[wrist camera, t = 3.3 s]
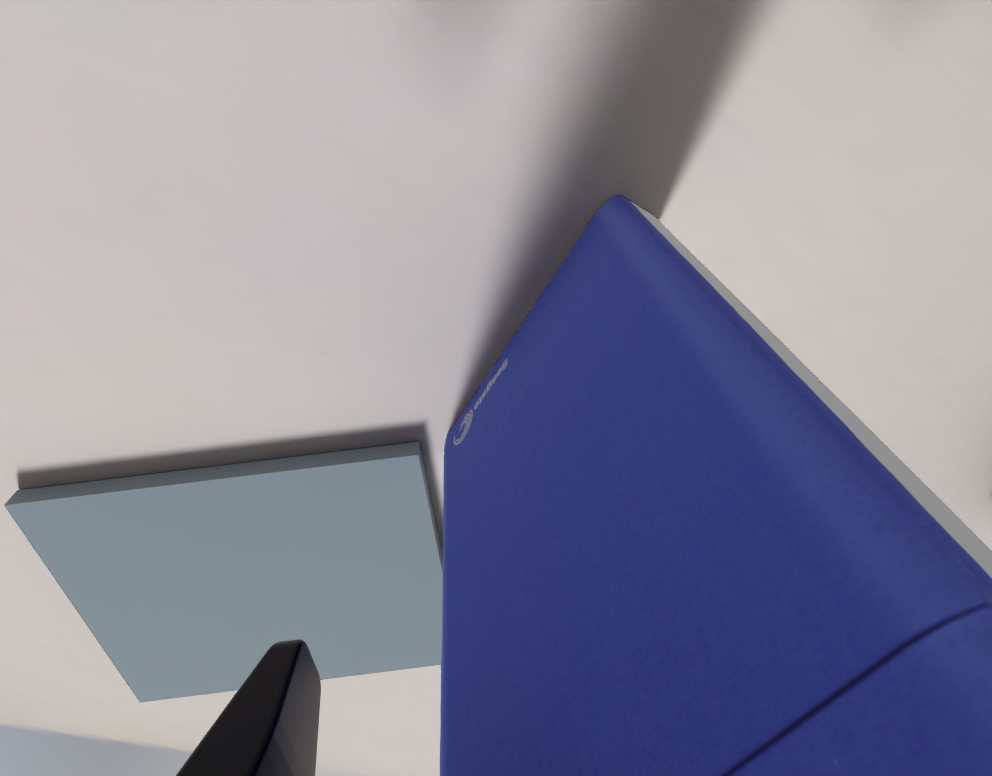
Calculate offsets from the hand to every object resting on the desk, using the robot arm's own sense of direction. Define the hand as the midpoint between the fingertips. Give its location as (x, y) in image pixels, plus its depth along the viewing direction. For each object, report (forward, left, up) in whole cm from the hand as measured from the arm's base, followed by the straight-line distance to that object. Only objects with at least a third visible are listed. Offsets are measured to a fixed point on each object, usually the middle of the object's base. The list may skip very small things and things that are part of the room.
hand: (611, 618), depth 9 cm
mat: (+9, +7, -8) cm, 14 cm away
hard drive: (0, 0, -8) cm, 9 cm away
